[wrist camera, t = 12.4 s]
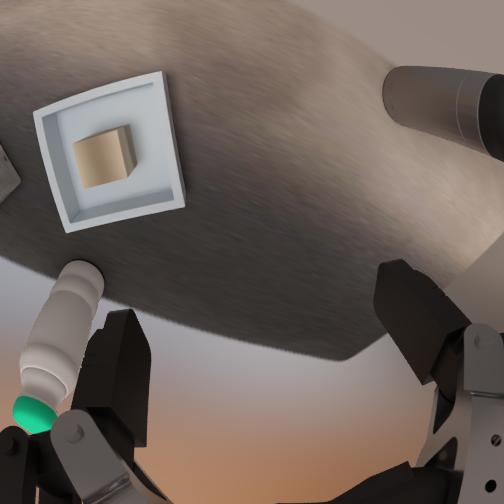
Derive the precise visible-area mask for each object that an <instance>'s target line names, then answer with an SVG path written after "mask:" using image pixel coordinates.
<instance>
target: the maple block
mask: <svg viewBox="0 0 504 504" xmlns="http://www.w3.org/2000/svg"><path fill="white" fill-rule="evenodd" d="M72 145H73V149H74V153H75V157H76V161H77V165H78V169H79V173H80V176H81V180H82V183H83V187H84V189H87V188H91V187H95V186H98V185H102V184H106V183H110V182H113V181H117V180H121V179H125V178H128V177H129V175H130V174H131V173H132V171H133V170H134V168H135V167H136V166H137V164H138V163H137V159H136V154H135V149H134V145H133V140H132V135H131V130H130V125H129V124H127V125H123V126H119V127H116V128H112V129H109V130H105V131H102V132H99V133H95V134H92V135H89V136H87V137H85V138H83V139H81V140H79V141H77V142H75V143H73V144H72Z"/></svg>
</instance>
